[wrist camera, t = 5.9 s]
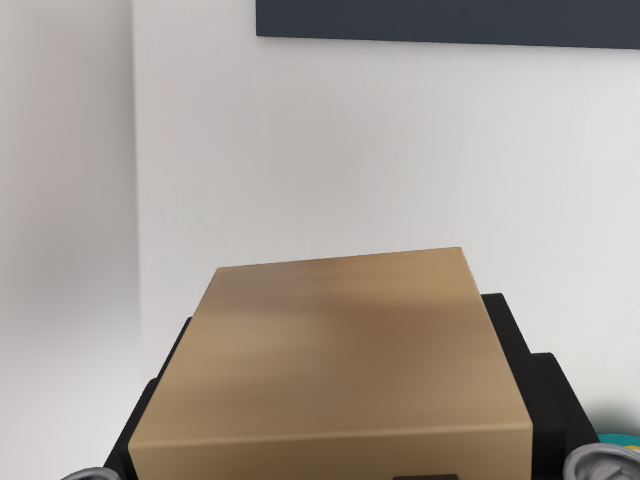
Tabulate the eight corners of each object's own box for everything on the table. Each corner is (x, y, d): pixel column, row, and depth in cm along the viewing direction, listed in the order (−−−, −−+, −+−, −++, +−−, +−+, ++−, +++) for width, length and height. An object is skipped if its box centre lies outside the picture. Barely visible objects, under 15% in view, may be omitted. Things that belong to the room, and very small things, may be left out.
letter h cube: (257, 449, 14) (201, 703, 9) (216, 266, 12) (114, 463, 7) (466, 438, 13) (531, 703, 8) (461, 245, 11) (542, 443, 6)
